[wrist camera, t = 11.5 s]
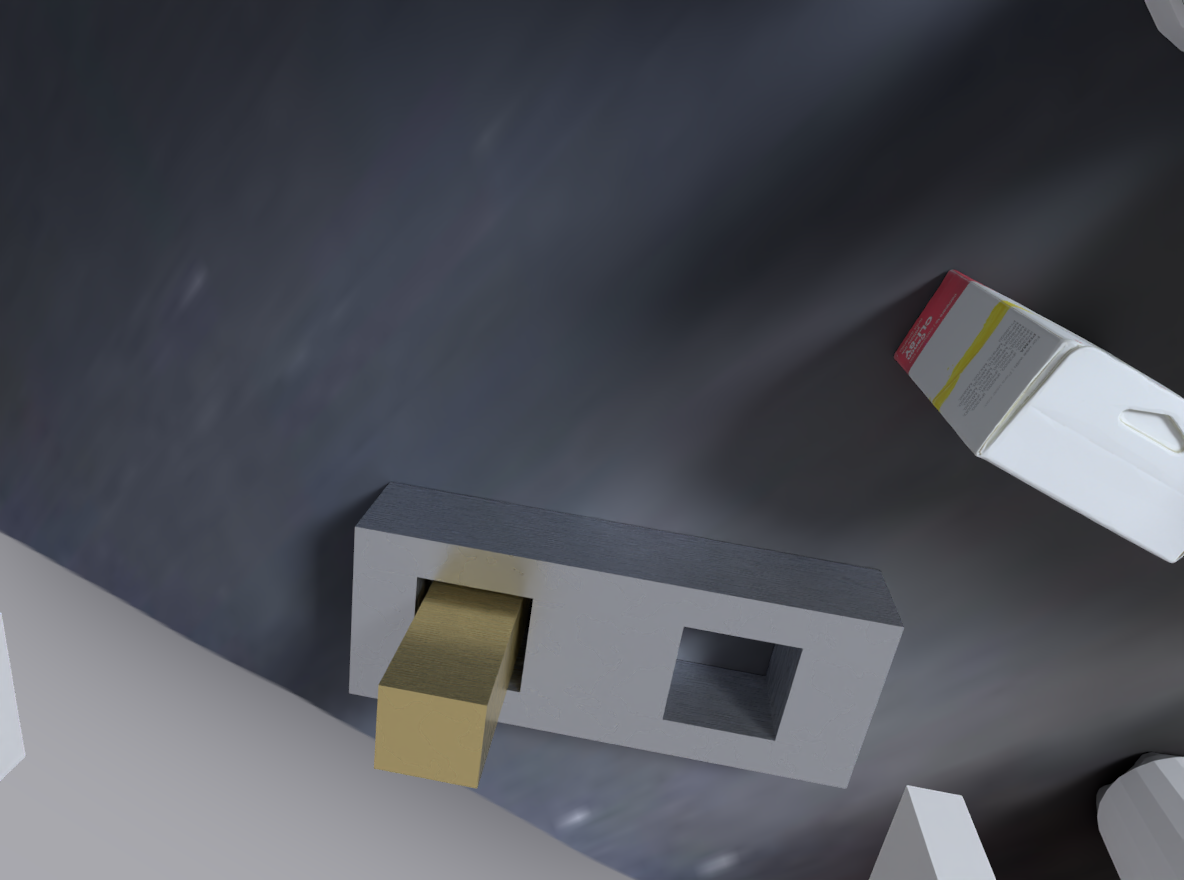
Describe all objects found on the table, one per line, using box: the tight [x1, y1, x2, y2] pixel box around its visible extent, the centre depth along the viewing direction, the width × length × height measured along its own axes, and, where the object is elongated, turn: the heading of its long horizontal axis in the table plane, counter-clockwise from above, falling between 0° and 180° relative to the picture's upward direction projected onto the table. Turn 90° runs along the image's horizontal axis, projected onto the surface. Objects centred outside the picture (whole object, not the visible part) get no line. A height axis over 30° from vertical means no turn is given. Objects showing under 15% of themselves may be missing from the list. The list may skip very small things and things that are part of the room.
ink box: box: [894, 270, 1184, 563], centre depth 32 cm, size 9×5×12 cm, turn 63°
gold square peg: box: [374, 580, 531, 788], centre depth 39 cm, size 4×4×12 cm
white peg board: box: [349, 482, 904, 789], centre depth 42 cm, size 10×26×5 cm, turn 82°
